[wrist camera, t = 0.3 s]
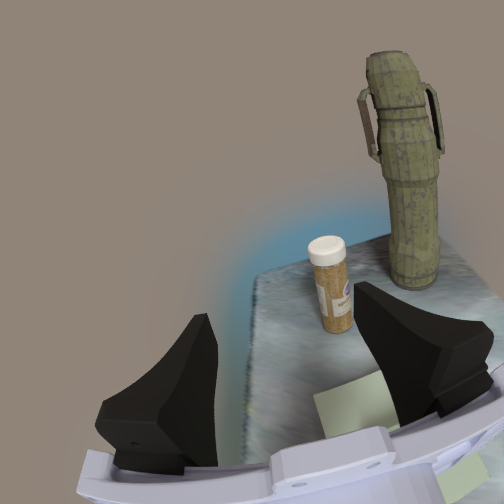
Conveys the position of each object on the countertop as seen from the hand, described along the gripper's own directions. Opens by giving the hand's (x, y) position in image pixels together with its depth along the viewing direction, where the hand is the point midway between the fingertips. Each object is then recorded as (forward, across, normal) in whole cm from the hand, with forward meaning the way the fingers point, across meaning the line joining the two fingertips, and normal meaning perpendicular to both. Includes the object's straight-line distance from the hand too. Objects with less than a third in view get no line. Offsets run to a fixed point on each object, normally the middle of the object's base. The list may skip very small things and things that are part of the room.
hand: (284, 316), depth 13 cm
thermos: (+24, -24, +17) cm, 38 cm away
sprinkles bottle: (+20, -9, +19) cm, 29 cm away
